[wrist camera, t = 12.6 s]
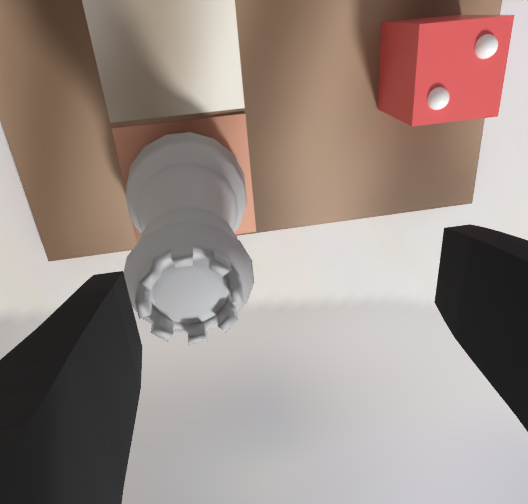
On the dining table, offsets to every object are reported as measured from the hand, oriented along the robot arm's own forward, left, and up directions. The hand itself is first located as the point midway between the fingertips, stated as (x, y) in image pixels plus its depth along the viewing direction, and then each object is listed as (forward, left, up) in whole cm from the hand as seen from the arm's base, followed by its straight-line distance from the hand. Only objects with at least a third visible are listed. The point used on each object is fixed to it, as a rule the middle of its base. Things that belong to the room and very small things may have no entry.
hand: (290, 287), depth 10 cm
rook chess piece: (+2, 0, -9) cm, 9 cm away
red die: (-7, -3, -9) cm, 12 cm away
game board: (-1, -2, -9) cm, 10 cm away
